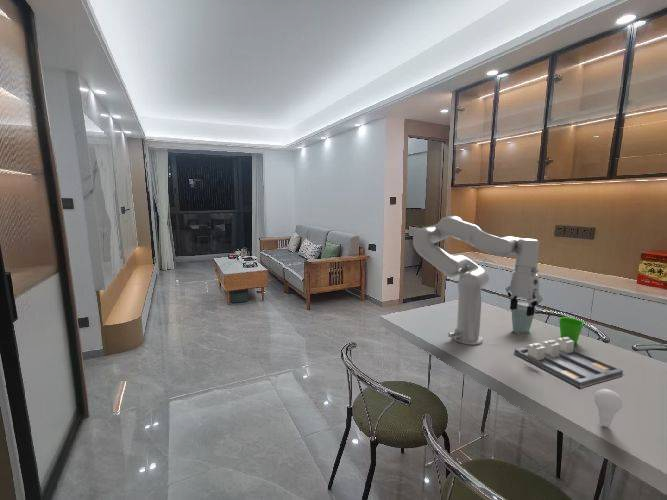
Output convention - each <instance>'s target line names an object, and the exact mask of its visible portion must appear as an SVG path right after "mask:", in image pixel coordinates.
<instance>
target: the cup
mask: <svg viewBox="0 0 667 500" xmlns="http://www.w3.org/2000/svg"><path fill="white" fill-rule="evenodd" d="M558 321H559V329H560V331H559V332H560V338H563V337H569V338H570V340H573V341H574V345H577V344H578V340H579V337H580V334H581V332H582V328H583V326H584V325H585V322H584V321H583V320H581V319H577V318H574V317H567V316H561V317H559V318H558Z"/></svg>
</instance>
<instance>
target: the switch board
mask: <svg viewBox="0 0 667 500" xmlns="http://www.w3.org/2000/svg"><path fill="white" fill-rule="evenodd" d="M540 344H541V346H543V343H540ZM513 355H514V356H515V357H516V358H519V359H521V360H522V361H524V362H527V363H529V364H531V365H532V366H534V367H536V368H538V369H540V370H541V371H544V372H546V373H548V374H549V375H551V376H553V377H555V378H557V379H559V380H561V381H563V382H565V383H567V384H569V385H570V386H573V388H574V387H575V388H576V389H578V390H582V389H586V388H589V387H592V386H595V385H601V384H602V383H606V382H610V381H612V380H617V379H620V378H622V377H623V375H622V374H623V372H624V371H623V370H622V369H620V368H618V367H615V366H613V365H611V364H608V363H606V362H603V361H601V360H600V359H596V358H595V357H591V356H589V355H587V354H585V353H582V352H580V351H577V350H575V349H573V352H572V353H568V354H567V353H565V352H563V351H561V350H559V356H555V357H552V356H550V355H548V354H546V353H545V355H544V359H542V360H536V359H534V358H532V357H530V356H528V346H524V347H521V348H516V349H514V354H513ZM618 375H620V376H618ZM613 376H617V377H613ZM611 377H613V378H611ZM607 378H609V379H607ZM603 379H606V380H603ZM601 380H603V381H601ZM596 381H597V382H596ZM598 381H599V382H598ZM594 382H595V383H594ZM589 383H592V384H589ZM586 384H589V385H586ZM582 385H586V386H582Z"/></svg>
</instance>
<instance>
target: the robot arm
mask: <svg viewBox="0 0 667 500" xmlns="http://www.w3.org/2000/svg"><path fill="white" fill-rule="evenodd" d="M448 238H453V239H456V240H458V241H461V242H464V243H466V244H469V245H470V246H471V247H474V248H475V249H478V250H479V251H481V252H484V253H487V254H489V255H493V256H495V257H500V258H506V257H508V256H511V255H515V263H514V264H515V265H514V271H513V272H512V276H511V280H510V285H509V286H507V287H506V288H505V290H506V293H507V296H508V297H509V301H510V306H509V309H510V310H511V311H512V310H514V309H517V303H518V298H522V299H525V300H526V302H528V304H529V306H527V314H526V315H527V316H532V315H534V316H535V314H534V309H535V306H536V307H537V305H539V304H540V303H541V302H543V297H542V296H541V295H540V278H539V275H538V274H537V273H539V269H537V268H538V259H539V258H538V257H539V251H540V250H539V248H540V242H539V240H538V239H534V238H528V237H525V238H524V237H523V238H522V237H515V236H511V235H510V236H509V235H507V236H502V237H500V236H496V235H493V234H490V233H487V232H485V231H484V230H483V229H481V228H480V227H479V226H478V225H476V224H473V223H471V222H468V221H464V220H462V218H461V217H459V216H457V215H449V216H447V215H446V216H444V217H442V218H440V219H439V221H438V222H437V223H435V224H433V225H430V226H423V227H420V228H418V229H417V230H416V231H415V232H414V233H413V236H412V244H413V248H414V249H415V250H414V251H416V253H417V254H418V255H419V256H420V257H422V259H425V261H427V262H429V263H430V264H431V265H432V266H433V267H435V268H436V269H437V270H438V271H440V272H442V274H443V275H445V276H446V277H450V278H455V277H457V276H459V279H458V281H457V289H458V291H457V292H458V304H457V307H458V308H457V321H456V322H457V323H456V328H455V329H454V331H452V332H448V333H447V336H448V337H449V338H452V339H453V340H455V341H456V342H458V343H461V344H464V345H469V346H470V345H471V346H476V345H480V344H482V343H483V341H484V340H483V339H484V337H482V336H481V335H480V331H481V329H480V328H481V317H482V316H481V315H482V289H483V288H485V287H486V286H487V285H488V283H489V280H490V276H489V274H488V273H487V271H486V270H485V269H484V268H483V267H481V266H480V265H478V264H477V263H476V262H474V261H472V260H471V259H470V258H468V257H467V256H465V255H462V254H460V253H459V254H450V253H448V252H447V251H445V250H444V249H443V248H441V247H440V246H437V245H435V243H438V242H441V241H442V240H445V239H448Z"/></svg>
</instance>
